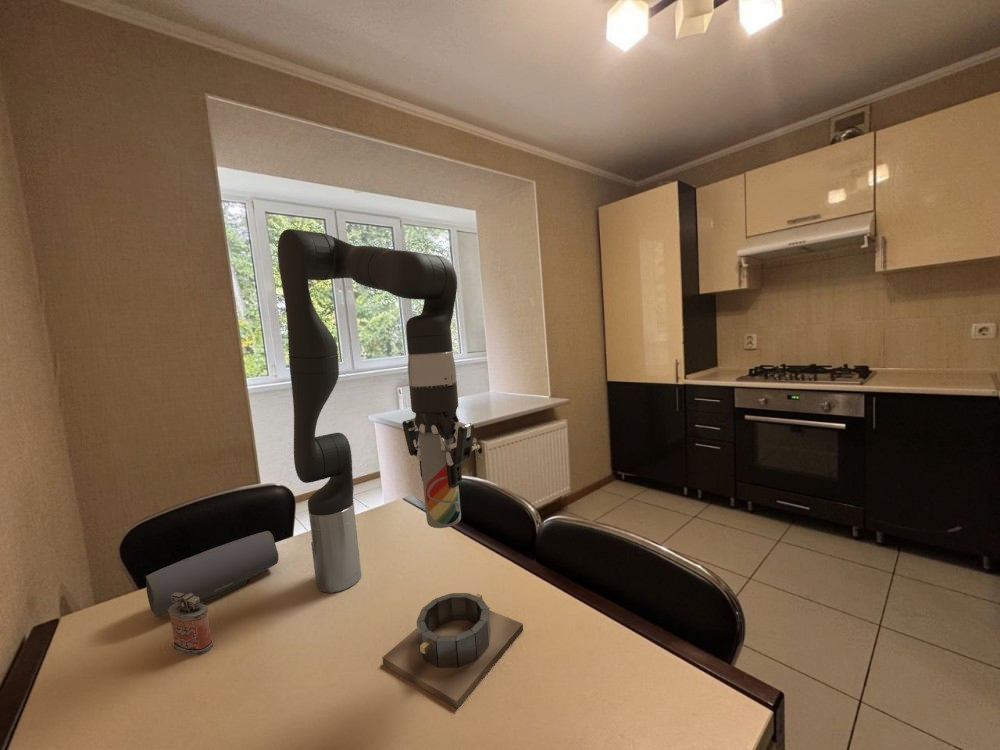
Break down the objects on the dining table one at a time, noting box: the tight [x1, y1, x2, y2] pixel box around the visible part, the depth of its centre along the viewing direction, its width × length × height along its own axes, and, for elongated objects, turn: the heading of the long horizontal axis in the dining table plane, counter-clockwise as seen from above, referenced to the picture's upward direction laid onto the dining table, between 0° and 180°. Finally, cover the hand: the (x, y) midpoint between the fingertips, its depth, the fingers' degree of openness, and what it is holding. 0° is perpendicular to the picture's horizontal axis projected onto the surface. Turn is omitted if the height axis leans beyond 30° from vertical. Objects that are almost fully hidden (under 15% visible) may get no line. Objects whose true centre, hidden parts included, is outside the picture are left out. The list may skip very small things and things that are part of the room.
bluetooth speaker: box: [145, 530, 279, 618], centre depth 91 cm, size 23×9×10 cm, turn 139°
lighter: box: [167, 592, 214, 657], centre depth 74 cm, size 8×3×10 cm, turn 71°
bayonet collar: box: [416, 592, 491, 668], centre depth 70 cm, size 12×15×4 cm
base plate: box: [382, 605, 524, 710], centre depth 71 cm, size 16×19×1 cm
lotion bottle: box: [419, 414, 462, 529], centre depth 67 cm, size 6×6×20 cm
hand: (441, 483), depth 68 cm, fingers closed on lotion bottle, 5 cm apart
